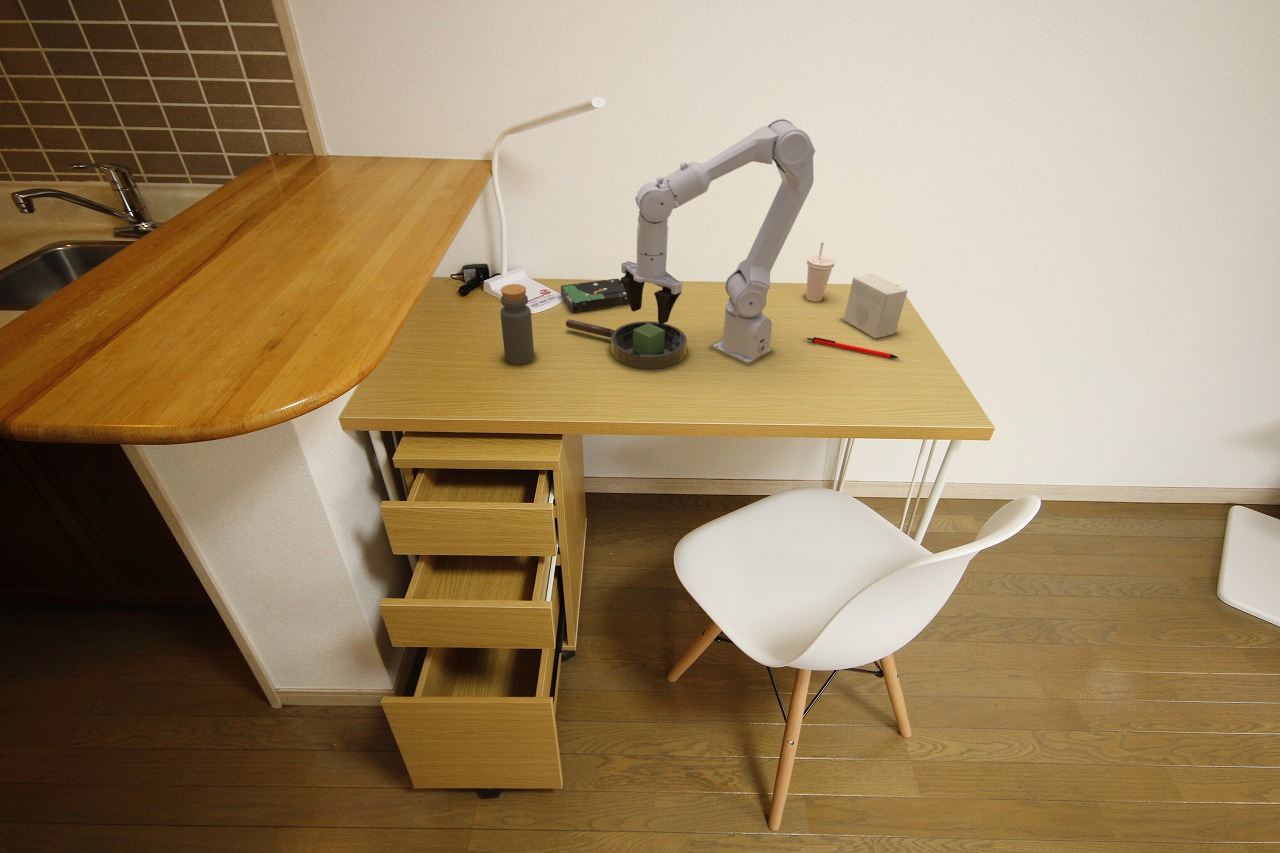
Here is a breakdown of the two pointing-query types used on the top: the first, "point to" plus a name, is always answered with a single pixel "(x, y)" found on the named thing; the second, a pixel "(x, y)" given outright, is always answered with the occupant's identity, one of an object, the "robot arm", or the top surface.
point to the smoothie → (818, 275)
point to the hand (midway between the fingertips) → (649, 316)
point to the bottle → (516, 325)
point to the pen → (851, 347)
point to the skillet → (666, 358)
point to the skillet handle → (589, 328)
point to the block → (648, 339)
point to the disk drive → (594, 295)
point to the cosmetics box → (874, 305)
